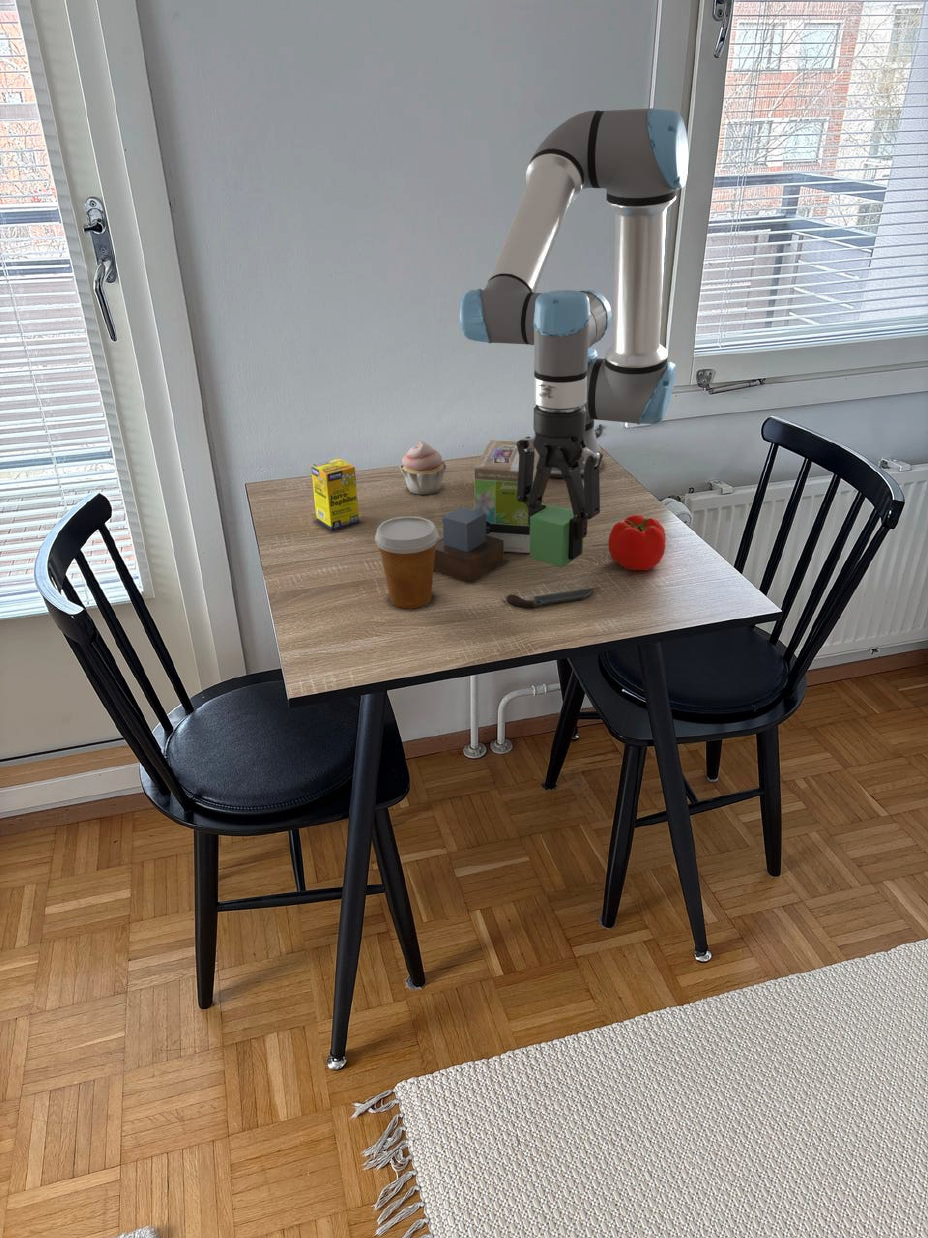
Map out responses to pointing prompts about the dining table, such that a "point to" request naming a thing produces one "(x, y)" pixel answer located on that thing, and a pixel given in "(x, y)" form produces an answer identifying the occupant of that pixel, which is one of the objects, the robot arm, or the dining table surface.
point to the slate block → (464, 529)
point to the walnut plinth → (468, 559)
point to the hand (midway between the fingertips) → (556, 550)
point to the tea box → (503, 495)
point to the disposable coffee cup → (408, 559)
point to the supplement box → (335, 494)
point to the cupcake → (423, 469)
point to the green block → (551, 535)
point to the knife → (550, 598)
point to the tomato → (637, 543)
